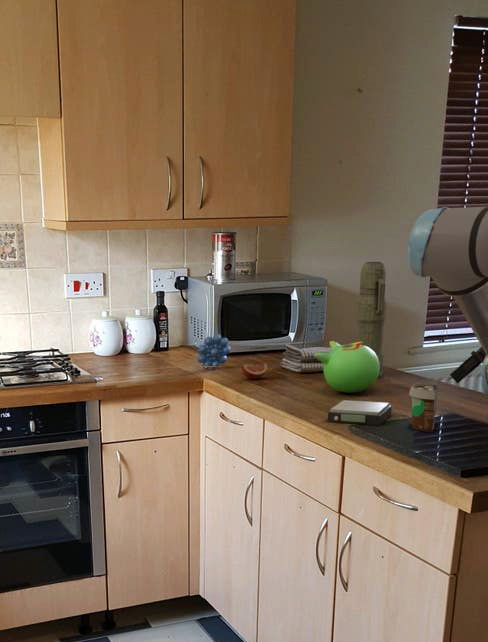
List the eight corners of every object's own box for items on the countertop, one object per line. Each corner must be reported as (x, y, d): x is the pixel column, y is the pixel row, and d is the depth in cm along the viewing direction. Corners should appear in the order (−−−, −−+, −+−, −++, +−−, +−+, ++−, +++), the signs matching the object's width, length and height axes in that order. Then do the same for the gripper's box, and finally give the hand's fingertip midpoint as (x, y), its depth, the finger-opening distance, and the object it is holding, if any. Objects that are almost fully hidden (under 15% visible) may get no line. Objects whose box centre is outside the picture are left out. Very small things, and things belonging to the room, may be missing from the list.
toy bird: (370, 399, 244) (373, 346, 240) (311, 396, 251) (313, 344, 246) (384, 388, 260) (386, 338, 255) (328, 385, 267) (329, 336, 262)
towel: (301, 374, 286) (301, 350, 284) (279, 366, 303) (279, 343, 300) (343, 371, 290) (344, 347, 287) (319, 363, 307) (320, 341, 304)
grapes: (227, 366, 307) (226, 331, 303) (232, 369, 300) (232, 334, 296) (194, 368, 305) (194, 333, 301) (199, 371, 298) (198, 335, 294)
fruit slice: (263, 376, 285) (263, 361, 283) (271, 379, 279) (271, 364, 277) (239, 378, 283) (239, 362, 281) (246, 381, 277) (246, 365, 275)
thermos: (368, 380, 273) (374, 263, 262) (345, 374, 283) (350, 262, 272) (391, 377, 277) (397, 261, 265) (367, 372, 287) (373, 261, 275)
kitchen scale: (378, 426, 213) (379, 413, 212) (326, 422, 219) (327, 409, 218) (391, 415, 224) (391, 402, 223) (341, 411, 230) (342, 399, 229)
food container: (409, 421, 217) (411, 380, 214) (435, 422, 215) (437, 381, 212) (404, 432, 206) (407, 390, 203) (432, 433, 204) (435, 390, 201)
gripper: (541, 328, 181) (460, 395, 193) (551, 315, 202) (478, 377, 214) (517, 301, 182) (437, 370, 193) (529, 291, 203) (457, 354, 214)
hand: (458, 374), depth 203 cm, fingers open, 13 cm apart
